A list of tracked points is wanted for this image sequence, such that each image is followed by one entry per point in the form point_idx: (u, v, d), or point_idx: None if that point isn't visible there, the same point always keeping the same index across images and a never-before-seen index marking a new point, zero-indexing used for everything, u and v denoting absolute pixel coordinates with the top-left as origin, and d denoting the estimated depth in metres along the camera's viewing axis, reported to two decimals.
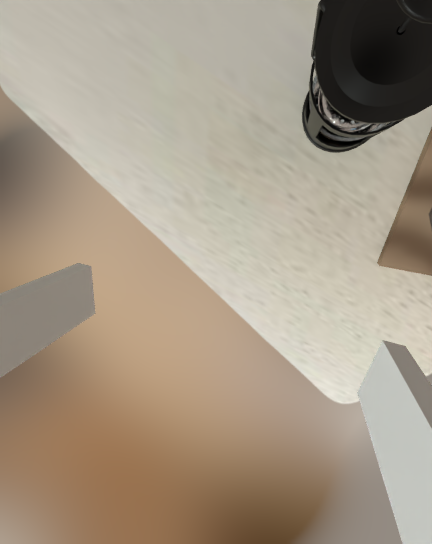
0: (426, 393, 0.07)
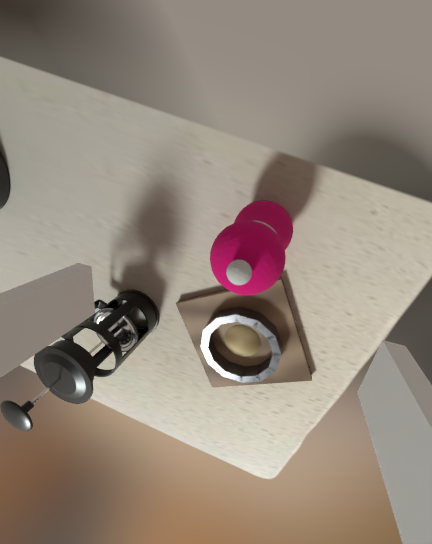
0: (426, 393, 0.07)
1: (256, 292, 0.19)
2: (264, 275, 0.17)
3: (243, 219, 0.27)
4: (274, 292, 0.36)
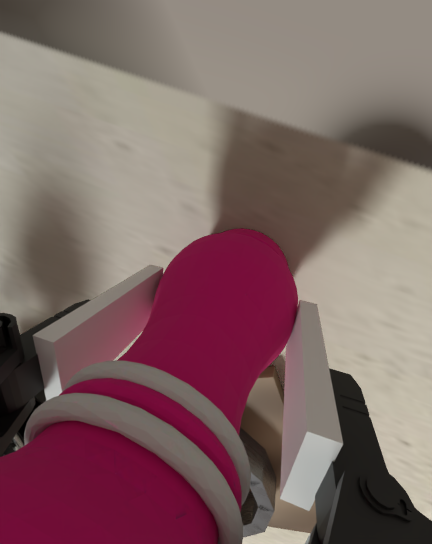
0: (313, 330, 0.09)
1: None
2: None
3: (165, 290, 0.10)
4: (261, 396, 0.19)
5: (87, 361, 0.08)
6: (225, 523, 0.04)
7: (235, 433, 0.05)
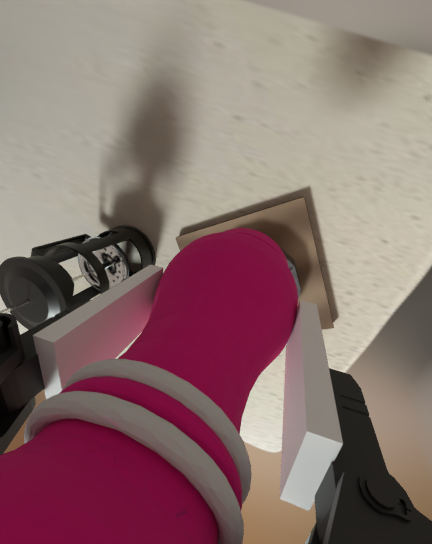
0: (313, 330, 0.09)
1: None
2: None
3: (165, 289, 0.10)
4: (294, 214, 0.30)
5: (87, 361, 0.08)
6: (226, 521, 0.04)
7: (235, 432, 0.05)
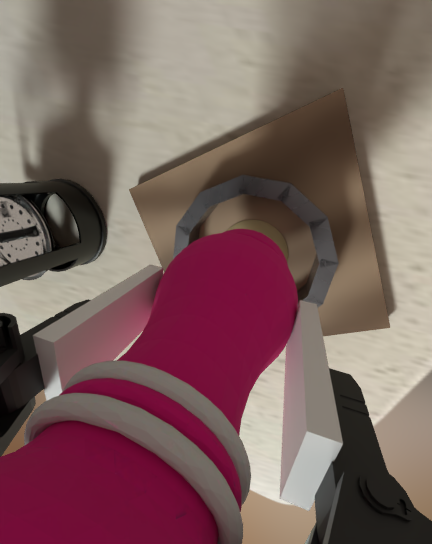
0: (313, 330, 0.09)
1: None
2: None
3: (165, 290, 0.10)
4: (325, 125, 0.17)
5: (87, 361, 0.08)
6: (225, 523, 0.04)
7: (235, 433, 0.05)
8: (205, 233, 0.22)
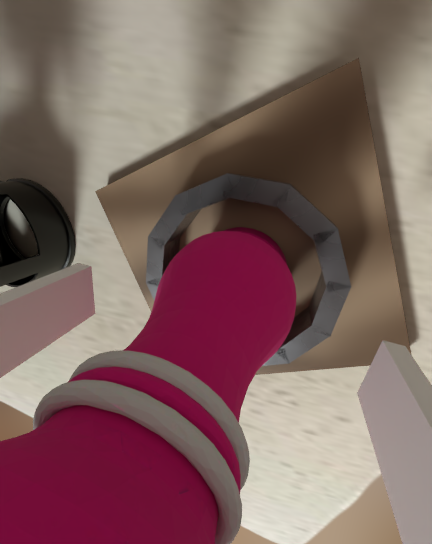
0: (426, 393, 0.07)
1: None
2: None
3: (166, 286, 0.10)
4: (334, 109, 0.13)
5: None
6: (225, 501, 0.04)
7: (234, 419, 0.05)
8: (186, 244, 0.18)
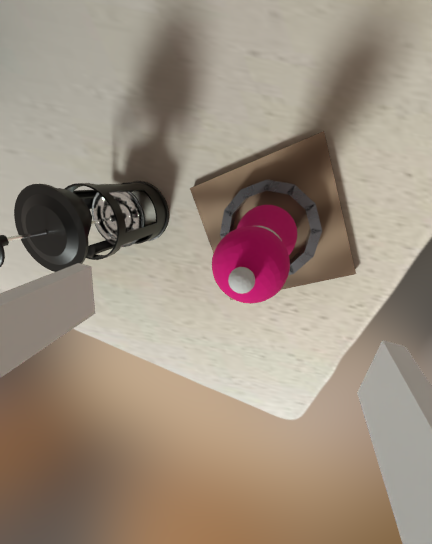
0: (426, 393, 0.07)
1: (259, 300, 0.18)
2: (268, 283, 0.17)
3: (246, 223, 0.26)
4: (314, 151, 0.29)
5: None
6: None
7: (281, 240, 0.21)
8: (239, 216, 0.34)
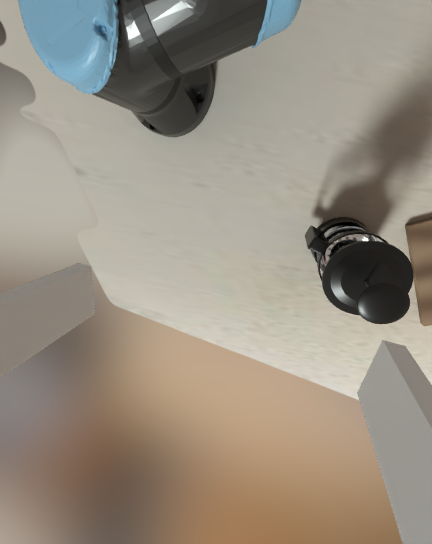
0: (426, 393, 0.07)
1: None
2: None
3: None
4: None
5: None
6: None
7: None
8: None
